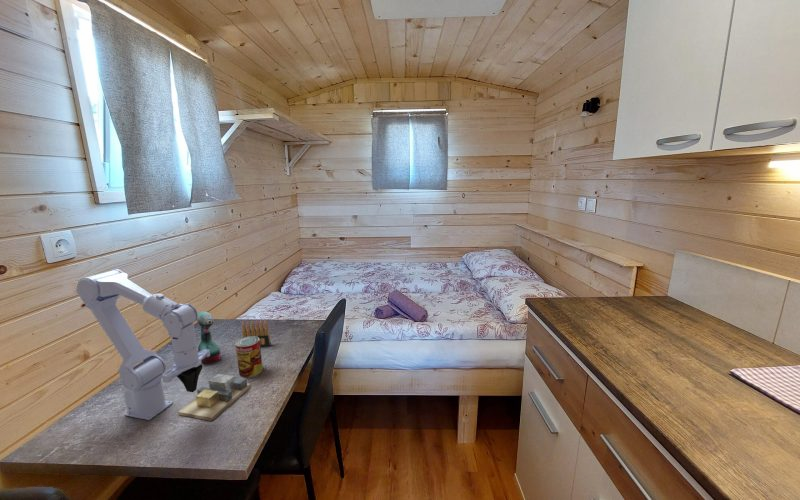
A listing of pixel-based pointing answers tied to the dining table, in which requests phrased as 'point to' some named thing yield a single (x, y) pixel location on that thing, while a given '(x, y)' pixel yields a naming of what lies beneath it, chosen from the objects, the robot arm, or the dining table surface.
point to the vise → (219, 407)
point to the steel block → (222, 382)
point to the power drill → (207, 337)
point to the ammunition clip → (257, 332)
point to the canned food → (249, 356)
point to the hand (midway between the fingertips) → (191, 390)
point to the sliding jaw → (212, 396)
